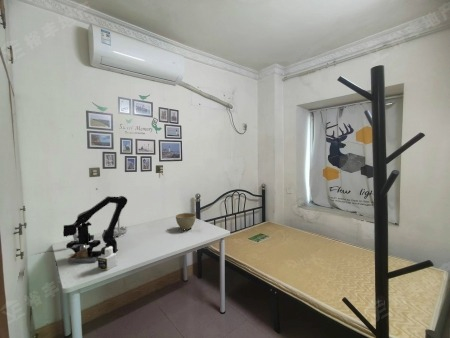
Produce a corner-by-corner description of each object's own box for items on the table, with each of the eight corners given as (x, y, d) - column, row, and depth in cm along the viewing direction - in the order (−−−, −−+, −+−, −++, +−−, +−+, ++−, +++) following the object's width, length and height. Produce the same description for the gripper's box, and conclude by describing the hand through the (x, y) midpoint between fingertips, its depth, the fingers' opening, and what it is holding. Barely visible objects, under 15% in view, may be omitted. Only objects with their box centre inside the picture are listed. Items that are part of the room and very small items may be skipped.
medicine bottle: (97, 268, 128) (97, 248, 128) (108, 263, 135) (107, 244, 134) (107, 270, 126) (106, 250, 125) (117, 265, 132) (116, 245, 132)
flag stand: (118, 238, 178) (117, 201, 177) (106, 236, 183) (105, 200, 182) (131, 233, 190) (129, 198, 189) (119, 231, 195) (118, 198, 194)
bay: (109, 250, 154) (109, 242, 153) (95, 262, 136) (95, 253, 136) (80, 251, 153) (80, 243, 153) (62, 263, 136) (62, 254, 136)
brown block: (92, 255, 145) (91, 248, 145) (86, 260, 139) (86, 252, 139) (82, 256, 145) (82, 248, 145) (76, 260, 139) (76, 252, 139)
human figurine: (67, 250, 155) (66, 225, 154) (65, 249, 157) (64, 224, 157) (86, 245, 165) (85, 221, 164) (84, 244, 167) (82, 220, 166)
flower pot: (179, 233, 188) (179, 219, 187) (173, 227, 203) (173, 214, 203) (199, 229, 197) (198, 216, 196) (191, 224, 212) (191, 212, 212)
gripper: (104, 228, 150) (105, 251, 150) (76, 229, 149) (77, 252, 150) (95, 234, 139) (96, 258, 139) (65, 235, 138) (66, 259, 139)
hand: (84, 256), depth 142 cm, fingers closed on brown block, 6 cm apart
